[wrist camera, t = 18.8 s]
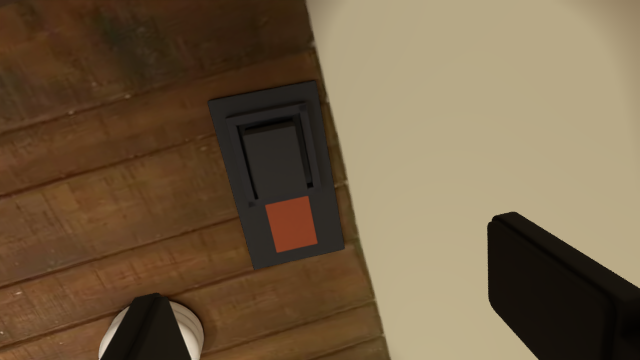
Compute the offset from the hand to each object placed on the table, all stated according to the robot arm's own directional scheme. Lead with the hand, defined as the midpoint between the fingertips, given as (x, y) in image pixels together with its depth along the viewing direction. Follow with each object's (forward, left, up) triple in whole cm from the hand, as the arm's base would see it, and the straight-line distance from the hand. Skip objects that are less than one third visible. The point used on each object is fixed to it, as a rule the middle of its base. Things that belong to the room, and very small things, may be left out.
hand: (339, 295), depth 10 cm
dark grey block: (+2, -2, -25) cm, 25 cm away
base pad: (+5, -2, -26) cm, 27 cm away
